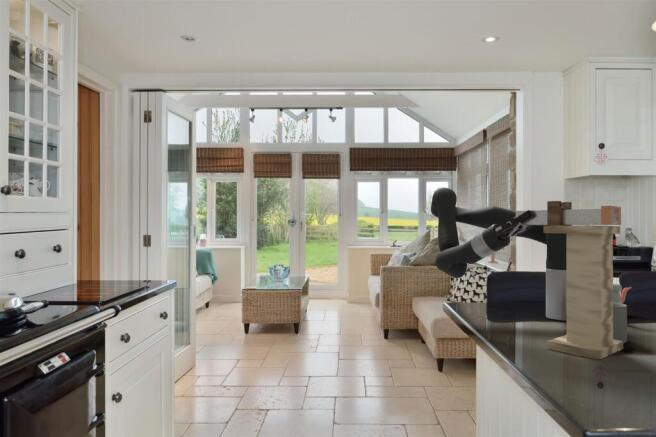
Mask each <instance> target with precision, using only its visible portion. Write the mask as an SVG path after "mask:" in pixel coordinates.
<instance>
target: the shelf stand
mask: <svg viewBox="0 0 656 437" xmlns="http://www.w3.org/2000/svg"><path fill="white" fill-rule="evenodd" d="M546 202H547V203H546V205H547V206H546V208H547V209H546V210H547V226H544V233H567V320H566V334H565V335H561V336H559V337H555V338H552V339H549V340H547V349H548V350H552V351H556V352H562V353H566V354H570V355H575V356H579V357H583V356H584V357H585V358H589V359H594V360H597V359H598V361H599V359H600V360H601V359H604V358H607V357H609V356H611V355H613V354H615V353H618V352H620V351H622V350H624V343H623V341H619V340H613V284H614V248H613V247H614V244H613V243H614V238H613V237H614V235H620V234H621V225H561V210H572V208H573V207H572V205H573V204H572V201H563V202H562V201H561V200H550V201H549V200H548V201H546ZM617 351H618V352H617ZM608 355H609V356H608Z"/></svg>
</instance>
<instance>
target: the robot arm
mask: <svg viewBox="0 0 656 437" xmlns="http://www.w3.org/2000/svg"><path fill="white" fill-rule="evenodd" d="M457 199H458V197H457V193H456V192H455V191H454V190H453V189H451V188H449V187H440V188H437V189H435V191H434V192H433V194H432V198H431V204H430V212H431V215H433V216H434V217H436V218H437V221H438V222H437V223H438V224H437V240H438V241H437V242H438V248H439V251H440V253H439V254H438V255H437V256H436V258H435V262H434V263H435V267H436V268H437V269H438V270H439V271H441V272H443V273H445V274H446V275H448V276H450V277H452V278H454V279H460V278H463V276H465V275H466V273H467V269H468V264H469V265H474V264H476V263H478V262H480V261H481V260H483V259H485V258H487V257H489V256H492V255H493V254H495V253H497V252H498V251H501V250H503V249H504V248H506V247H507V246H509V245H510V242H511V237H518V238H526V239H529V240H533V241H536V242H538V243H541V244H544V245H546V258H545V259H546V260H545V317H546V318H548V319H551V320H557V321H567V233H544V226H547V225H521V224H522V223H524V222H525V221H527V220H529V219H530V218H532V217H533V216H534V215H533V213H532V211H533V210H531V209H527V210H525V211H526V212H524V213H523V214H521V215H519V216H516V211H513V210H511V209H508V208H507V209H506V208H503V207H500V206H499V207H498V206H495V205H490V206H489V205H488V206H483V207H478V208H473V209H472V208H471V209H469V208H462V207H459V206H456V205H457V202H458V200H457ZM521 222H522V223H521ZM457 223H461V224H467V225H469V226H474V227H478V228H480V229H481V228H482V229H484V230H483V231H481V232H479V233H478V234H476V235H475V236H474V237H473V238H470V240H467V242H465V243H463V244H461V245H460V240H459V233H458V226H457V225H458V224H457Z"/></svg>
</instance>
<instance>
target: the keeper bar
mask: <svg viewBox="0 0 656 437" xmlns="http://www.w3.org/2000/svg"><path fill="white" fill-rule="evenodd" d="M526 211H527V210H515V212H516V216H519V215H521V214H523V213H524V212H526ZM531 211H532V213H533V215H534V216H533V217H532V218H530V219H529V220H527V221H525V222H524V223H522V222H521V223H522V224H521V225H547V209H541V210H531ZM561 225H572V226H621V225H622V207H621V206H616V205H601V206H600V208H586V209H583V208H577V209H576V208H575V209H572V210H561Z"/></svg>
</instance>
